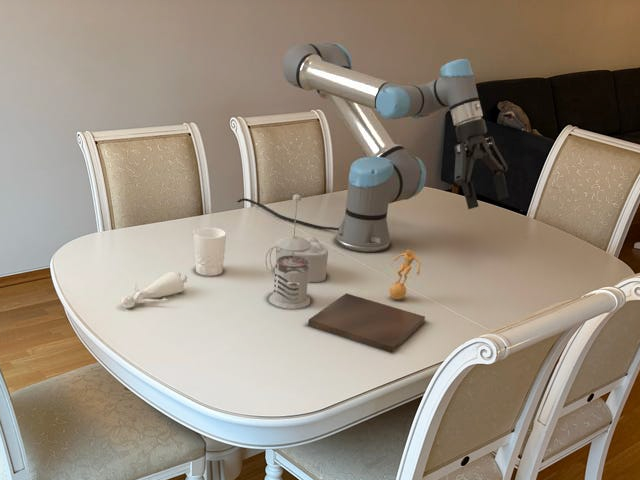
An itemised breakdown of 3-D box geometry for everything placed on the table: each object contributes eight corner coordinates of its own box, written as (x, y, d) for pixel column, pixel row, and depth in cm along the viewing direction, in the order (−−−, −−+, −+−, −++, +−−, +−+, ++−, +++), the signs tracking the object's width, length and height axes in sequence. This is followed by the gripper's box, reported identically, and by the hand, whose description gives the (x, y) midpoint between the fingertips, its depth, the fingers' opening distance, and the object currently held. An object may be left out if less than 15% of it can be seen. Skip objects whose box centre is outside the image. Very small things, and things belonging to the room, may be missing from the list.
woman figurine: (199, 276, 161) (137, 303, 149) (200, 294, 163) (139, 322, 151) (166, 262, 167) (103, 286, 155) (167, 279, 169) (106, 304, 158)
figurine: (378, 294, 170) (384, 247, 164) (394, 289, 174) (401, 243, 168) (404, 306, 165) (412, 258, 159) (420, 300, 168) (428, 253, 163)
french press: (296, 312, 158) (305, 204, 146) (254, 298, 163) (258, 192, 151) (318, 298, 166) (327, 194, 153) (276, 285, 171) (283, 184, 158)
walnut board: (308, 325, 153) (308, 319, 152) (345, 298, 167) (346, 293, 166) (392, 352, 144) (393, 346, 144) (424, 322, 158) (425, 316, 157)
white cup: (230, 269, 178) (231, 231, 173) (215, 279, 172) (215, 240, 167) (203, 262, 181) (203, 225, 176) (187, 272, 174) (187, 234, 169)
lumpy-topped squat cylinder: (294, 261, 186) (296, 229, 181) (334, 274, 179) (338, 242, 175) (269, 271, 178) (271, 239, 174) (311, 286, 172) (314, 253, 167)
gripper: (450, 123, 171) (472, 208, 174) (508, 112, 185) (527, 191, 188) (427, 133, 177) (448, 215, 180) (485, 121, 191) (504, 198, 194)
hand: (489, 203), depth 184 cm, fingers open, 13 cm apart
